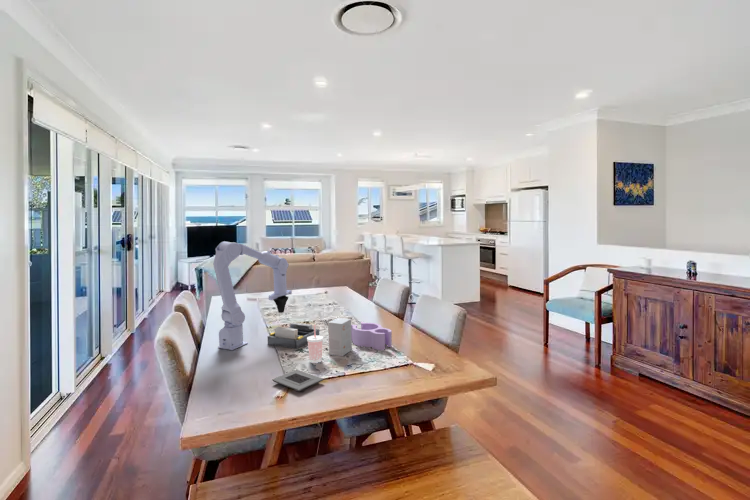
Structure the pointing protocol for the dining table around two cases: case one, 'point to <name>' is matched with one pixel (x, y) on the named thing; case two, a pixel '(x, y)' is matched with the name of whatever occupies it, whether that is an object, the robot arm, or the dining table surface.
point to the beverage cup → (315, 347)
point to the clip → (371, 336)
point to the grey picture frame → (297, 380)
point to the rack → (303, 333)
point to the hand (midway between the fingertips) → (281, 312)
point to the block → (286, 333)
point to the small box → (339, 336)
